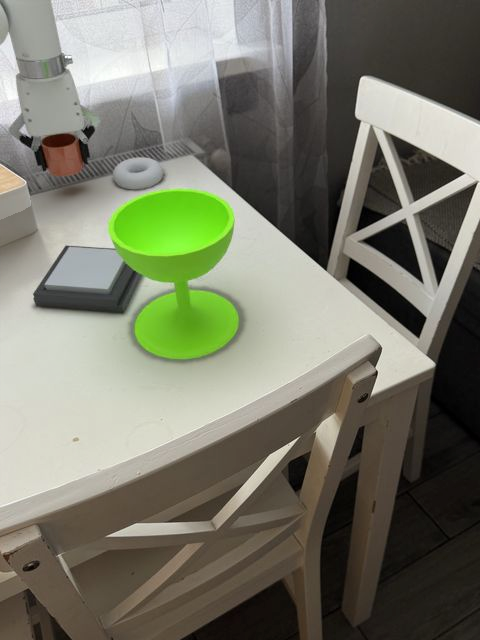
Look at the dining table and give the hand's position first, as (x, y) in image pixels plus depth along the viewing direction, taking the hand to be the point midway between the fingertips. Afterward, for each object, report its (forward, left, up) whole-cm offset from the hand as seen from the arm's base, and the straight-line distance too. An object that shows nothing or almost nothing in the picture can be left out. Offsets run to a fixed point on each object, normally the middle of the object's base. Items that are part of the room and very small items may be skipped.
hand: (64, 164), depth 113 cm
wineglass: (+32, -36, -7) cm, 48 cm away
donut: (+12, +6, -7) cm, 15 cm away
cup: (0, 0, -1) cm, 1 cm away
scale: (+15, -29, -6) cm, 33 cm away
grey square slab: (+15, -29, -4) cm, 32 cm away
